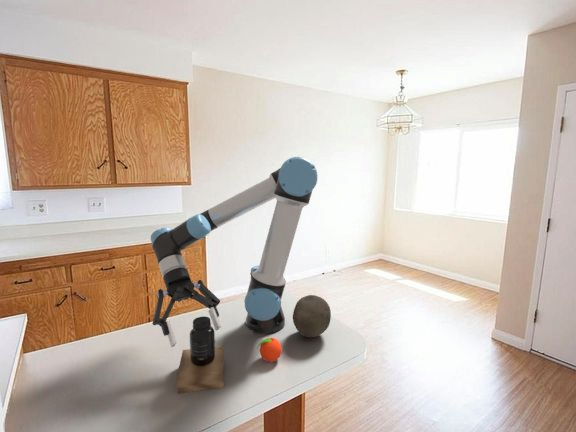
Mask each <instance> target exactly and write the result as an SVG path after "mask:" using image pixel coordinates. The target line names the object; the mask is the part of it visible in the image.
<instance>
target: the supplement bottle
mask: <svg viewBox="0 0 576 432" xmlns="http://www.w3.org/2000/svg"><path fill="white" fill-rule="evenodd" d="M215 335H216V333H215V328H214V326H213V327H212V321H211V317H208V316H204V315H203V316H199V317H196V318H193V320H192V329H191V330H190V332H189V349H190V357H191V362H192V363H193V364H194V365H197V366H204V365H207V364H209V363H211V362H212V361H213V360H214V358H215V347H216V339H215V337H216V336H215Z"/></svg>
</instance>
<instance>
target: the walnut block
mask: <svg viewBox="0 0 576 432" xmlns="http://www.w3.org/2000/svg"><path fill="white" fill-rule="evenodd" d="M224 350H225V349H224V345H218V346H215V358H214V360H213V361H212V362H211V363H209V364H207V365H204V366H197V365H194V364H193V363H192V362H191V357H190V348H189V349H183V350H182V353H181V357H180V362H179V366H178V370H177V375H176V380H177V381H176V382H177V383H176V384H177V387H176V388H177V394H182V393H190V392H198V391H207V390H213V389H222V388H224V387H225V381H224V380H225V373H224V372H225V371H224V370H225V366H224V365H225V364H224V363H225V362H224V359H225V356H224V354H225V353H224V352H225V351H224Z"/></svg>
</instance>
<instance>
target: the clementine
mask: <svg viewBox="0 0 576 432" xmlns="http://www.w3.org/2000/svg"><path fill="white" fill-rule="evenodd" d="M258 348H259V354H260V357H261V358H262V359H264V361H266V362H270V363H271V362H275V361H277V360H278V359H279V358H280V357H281V354H282V344H281V343H280V341H279V340H278V339H277V338H275V337H267V338H265V339H264V340H261V342H260V343H259V344H258V346H257V348H256V349H258Z"/></svg>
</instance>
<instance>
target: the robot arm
mask: <svg viewBox="0 0 576 432" xmlns="http://www.w3.org/2000/svg"><path fill="white" fill-rule="evenodd" d="M318 177H319V176H318V171H317V168H316V166H315V165H314V163H312V161H310V160H309V159H308V158H305V157H304V156H303V157H302V156H301V157H300V156H293V157H289V158H288V159H286V160H285V161H284V162H283V163H282V165H280V167H279V168H278V169H277V170H275V171H273V172H271V173H270V174H269V177H268V178H266V179H264V180H261V181H260V182H259V183H256V184H254V185H252V186H250V187H248V188H247V189H244V190H243V191H241V192H239V193H237V194H235V195H233V196H232V197H229V198H228V199H225V200H224V201H221V202H220V203H218V204H216V205H214V206H213V207H210V208H208V209H207V210H205V211H204V210H203V211H202V212H201V213H196V214H195V215H192V216H191V217H189V218H188V219H187V220H185V221H183V222H182V223H180V224H179V225H177V226H176V227H174V228H170V227H161V228H158V229H156V230H154V231H153V232H152V233H151V235H150V242H151V247H152V250H153V252H154V254H155V255H154V256H155V258H156V261H157V264H158V267H159V271H160V274H161V276H162V278H163V282H164V283H163V284H164V285H165V288H166V289H162V288H160V289H158V291H157V292H156V299H157V301H156V306H155V310H154V315H153V319H152V325H153V326H157V325H158V326H159V327H161V330H162V334H163V335H164V337H166V336H167V338H168V341H169V344H170V347H171V348H174V347H175V346H176V344H177V339H176V336H175V333H174V331H173V327H172V325H171V324H172V323H171V321H170V320H167V319H168V317H169V316H170V313H171V311H172V310H173V307H174V305H175V302H178V303H179V302H182V301H186V300H189V299H191V300H194V301H196V302H197V303H199V304H201V305H203V306H204V307H206V308H207V309H208V311H207V312H208V314H209V316H210V317H209V318H210V320H211V323H212V325H213V328H214V331H218V330H220V328H222V325H221V323H220V320H219V317H220V313H219V311H218V309H217V308H218V307H217V306H218V305H219V304H220V303H221V300H220V299H219V298H218V297H217V296H216V295H215V294H214V293H213V292H212V291H211V290H210V288H208V287H207V286H206V285H205V284H204V282H203V280H202V279H198V281H196V282H193V281H192V279H191V276H190V274H189V270H188V268H187V265H186V262H185V260H184V258H183V255H182V251H183V250H185V249H187V248H188V247H189V246H192V245H193V244H195V243H197V242H198V241H200V240H201V239H204V238H205V237H207V235H209V234H210V233H211V232H212V231H214V230H216V229H218V228H220V227H222V226H223V225H225V224H228V223H229V222H231V221H233V220H235V219H237V218H239V217H241V216H243V215H245V214H247V213H249V212H251V211H253V210H255V209H256V208H258V207H260V206H263V205H264V204H266V203H269V202H270V201H272V200H274V199H275V200H276V203H275V206H274V211H273V214H272V217H271V221H270V225H269V228H268V233H267V236H266V240H265V244H264V247H263V251H262V254H261V257H260V258H261V259H260V261H259V265H254V266H252V267H251V269H250V273H249V275H250V281H249V285H248V287H247V293H246V295H245V297H244V309H245V312H246V313H247V314H246V317H245V326H246V328H247V329H248V330H250V331H251V332H254V333H258V334H271V333H276V332H279V331H280V330H282V329H283V328H284V326H285V325H286V318H285V315H284V311H283V307H282V298H283V294H284V291H285V288H286V283H287V279H286V278H285V277H284V273H285V270H286V266H287V263H288V261H289V256H290V253H291V249H292V246H293V243H294V239H295V236H296V232H297V230H298V229H297V228H298V225H299V221H300V218H301V214H302V210H303V208H304V207H306V206H308V205H309V204H310V201H311V197H312V194H313V193H312V192H313V190H314V189H315V188H316V185H317V184H318ZM194 288H195V289H194ZM197 290H198V291H197ZM166 296H169V298H171V299H170V301H169V303H168V305H167V307H166V310H165V311H164V313H163V316H162V317H161V312H162V308H163V302H164V298H165V297H166ZM160 317H161V318H160Z"/></svg>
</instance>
